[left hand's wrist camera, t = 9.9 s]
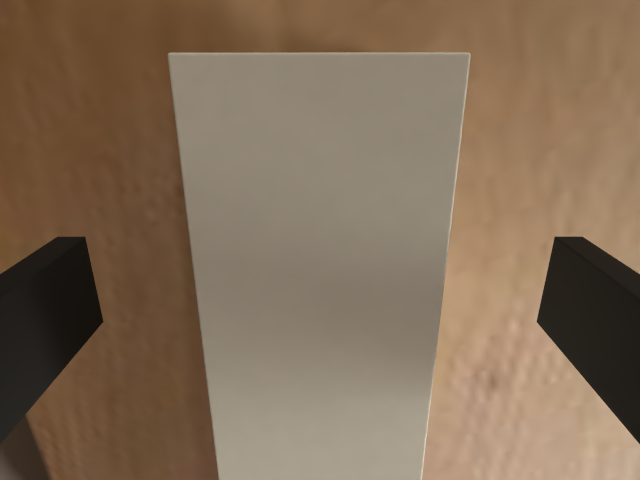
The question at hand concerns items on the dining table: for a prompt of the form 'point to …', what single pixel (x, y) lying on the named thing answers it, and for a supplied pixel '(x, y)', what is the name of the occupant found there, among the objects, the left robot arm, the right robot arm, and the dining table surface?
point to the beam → (319, 252)
